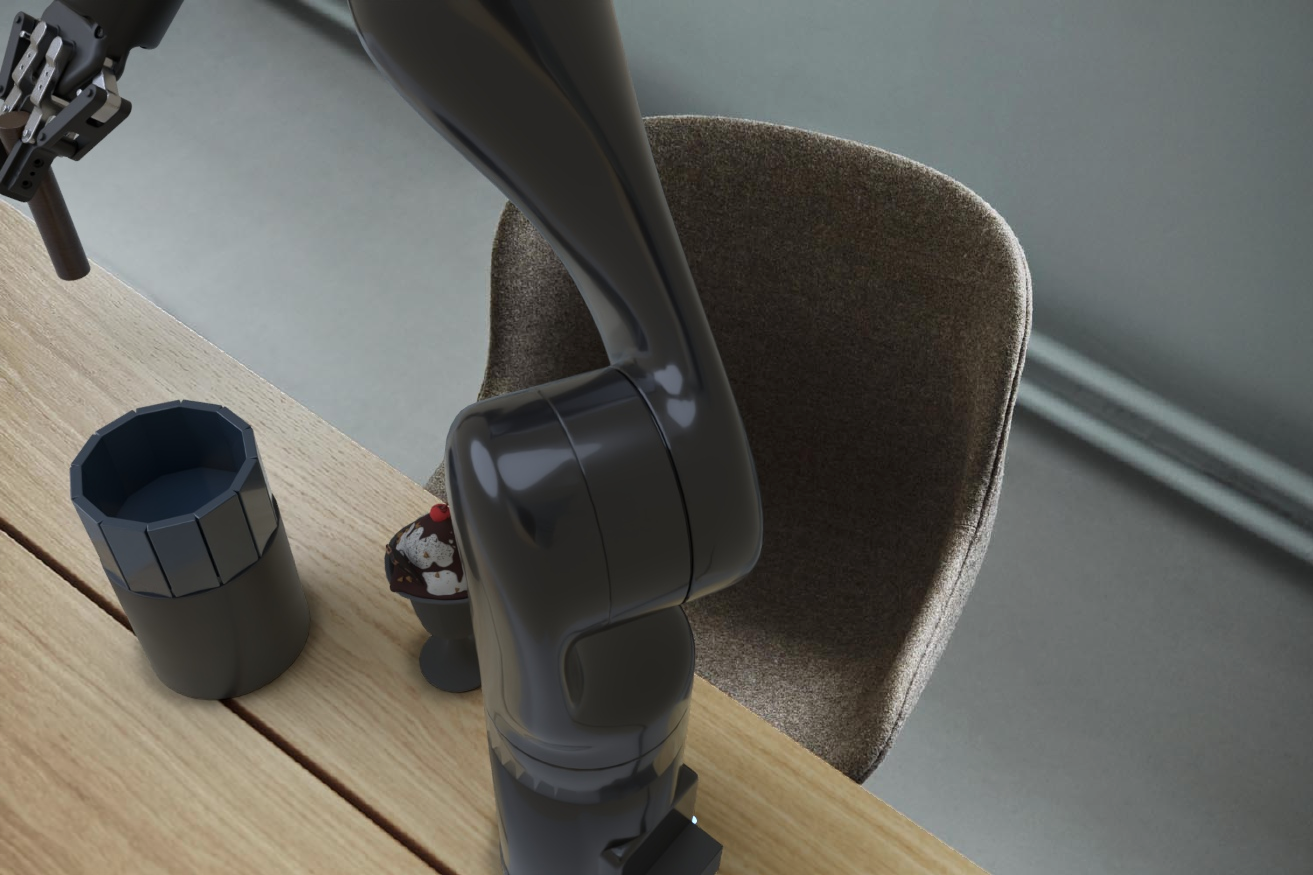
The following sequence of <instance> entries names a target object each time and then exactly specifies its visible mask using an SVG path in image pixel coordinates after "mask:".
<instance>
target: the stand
mask: <svg viewBox="0 0 1313 875" xmlns="http://www.w3.org/2000/svg"><path fill="white" fill-rule="evenodd" d="M272 495H273V501H274V506H275V511H276V516H277V521H278V522H277V527H276V529H275V531H274V533H273V535H272V537H271V539H270V541H269V543H268V545H267V547H266V549H265V551H264V553H263V554H262V556H261V557H258V561H256V562H255V563H253V564H252V565H251V566H249V567H248V568H246V569H245V570H244V571H242V572H241V573H239V574H238V575H237V576H235V577H234V578H233V579H231V580H230V581H228V582H227V583H226V584H220V587H216V588H212V589H208V590H204V591H200V592H196V593H192V594H188V595H184V596H180V597H175V596H173V598H170V597H164V596H157V595H151V594H145V593H139V592H133V591H131V589H130V590H128V589H127V588H126V587H125V586H124V585H123V584H122V583H121V582H119V581H118V580H117V579H116V578H115V577H114V576H113V575H112V574H111V573H110V572H109V571H107V570H106V569H105V568H104V566H103V564H102V562H101V560H100V559H99V562H100V564H101V567H102V570H103V572H104V573H105V575H106V577H107V579H108V581H109V584H110V586H111V587H112V589H113V592H114V594H115V596H116V597H117V600H118V601H119V604H120V606H121V608H122V610H123V612H124V614H125V616H126V619H127V620H128V622H129V624H130V626H131V628H132V630H133V632H134V635H135V636H136V638H137V640H138V642H139V644H140V646H141V649H142V651H143V652H144V655H145V656H146V658H147V659H146V660H147V661H148V662H149V665H150V667H151V669H152V670H153V672H154V673H155V675H156V677H157V678H158V679H159V681H161V683H162V684H164V685H165V686H166V687H168V688H169V689H170V690H172V691H174V692H176V693H178V694H181V695H183V696H186V697H188V698H193V699H196V700H197V699H198V700H207V701H209V700H213V701H214V700H225V699H231V698H236V697H240V696H243V695H246V694H249V693H251V692H254V691H256V690H259V689H261V688H263V687H264V686H267V685H268V684H270V683H271V682H273V681H275V680H276V679H277V678H278V677H280V676H281V675H282V674H283V673H284V672H285V671H287V669H289V667H290V666H292V664H293V663H294V662H295V661H296V660H297V658H298V657H299V655H300V654H301V652H302V651H303V648H304V647H305V644H306V642H307V639H308V637H309V633H310V628H311V613H310V609H309V606H308V602H307V598H306V595H305V592H304V591H305V590H304V588H303V585H302V582H301V579H300V578H301V577H300V574H299V572H298V568H297V564H296V561H295V557H294V554H293V551H292V548H291V545H290V541H289V538H288V534H287V531H286V527H285V525H284V521H283V517H282V514H281V510H280V507H279V504H278V501H277V499H276V497H275V495H274V493H273V492H272Z"/></svg>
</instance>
